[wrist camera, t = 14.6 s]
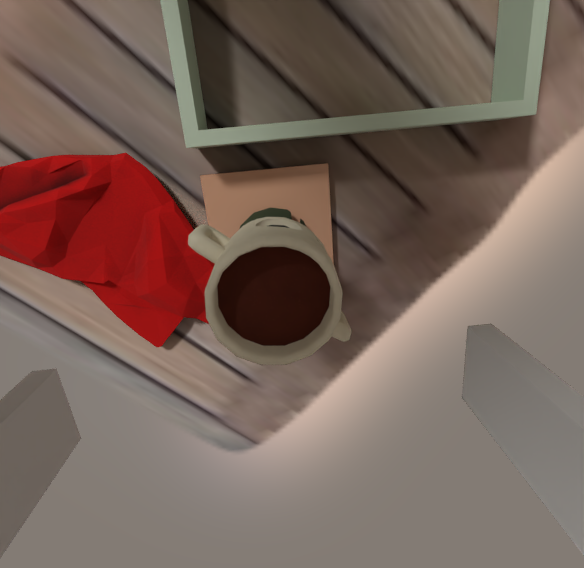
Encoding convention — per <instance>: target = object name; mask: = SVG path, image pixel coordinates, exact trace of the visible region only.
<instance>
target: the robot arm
mask: <svg viewBox="0 0 584 568" xmlns="http://www.w3.org/2000/svg"><path fill="white" fill-rule="evenodd" d="M462 398H463V400H464V401H465V402H466V404H467V405H468V406H469V407H470V409H471V410H472V411H473V413H474V414H475V415H476V417H477V418H478V419H479V420H480V422H481V423H482V424H483V426H484V427H485V428H486V430H487V431H488V432H489V433H490V435H491V436H492V437H493V438H494V440H495V441H496V443H497V444H498V445H499V446H500V448H501V449H502V450H503V452H504V453H505V454H506V456H507V457H508V458H509V459H510V460H511V462H512V463H513V464H514V466H515V467H516V468H517V470H518V471H519V472H520V474H521V475H522V476H523V478H524V479H525V480H526V481H527V483H528V484H529V485H530V487H531V488H532V489H533V490H534V492H535V493H536V494H537V496H538V497H539V498H540V500H541V501H542V502H543V504H544V505H545V506H546V507H547V509H548V510H549V511H550V513H551V514H552V515H553V517H554V518H555V519H556V520H557V522H558V523H559V524H560V526H561V527H562V528H563V530H564V531H565V532H566V533H567V535H568V536H569V537H570V539H571V540H572V541H573V543H574V544H575V545H576V546H577V548H578V549H579V550H580V551H581V553H582V554H583V556H584V396H583V395H582V394H580V393H579V392H578V391H576V390H575V389H574V388H573V387H571V386H570V385H569V384H567V383H566V382H565V381H564V380H562V379H561V378H559V376H557V375H556V374H555V373H553V372H552V371H551V370H550V369H548V368H547V367H546V366H545V365H543V364H542V363H541V362H539V361H538V360H537V359H536V358H534V357H533V356H532V355H531V354H529V353H528V352H527V351H525V350H524V349H523V348H522V347H520V346H519V345H518V344H516V343H515V342H514V341H513V340H511V339H510V338H509V337H508V336H506V335H505V334H504V333H502V332H501V331H500V330H499V329H497V328H496V327H495V326H494V325H492V324H484V325H474V326H468V329H467V342H466V354H465V367H464V380H463V392H462ZM80 439H81V437H80V434H79V431H78V428H77V425H76V423H75V420H74V417H73V414H72V411H71V409H70V406H69V403H68V400H67V397H66V394H65V392H64V389H63V386H62V383H61V380H60V378H59V375H58V372H57V369H49V370H40V371H32V372H31V373H30V374H28V375H27V376H26V377H25V378H24V379H23V380H22V381H21V382H20V383H19V384H17V385H16V386H15V387H14V388H13V389H12V390H11V391H10V392H9V393H8V394H6V395H5V396H4V397H3V398H2V399H1V400H0V558H1V557H2V555H3V554H4V552H5V551H6V549H7V548H8V546H9V545H10V543H11V542H12V540H13V539H14V537H15V536H16V534H17V533H18V531H19V530H20V528H21V527H22V525H23V524H24V523H25V521H26V519H27V518H28V516H29V515H30V514H31V512H32V511H33V509H34V508H35V506H36V505H37V503H38V502H39V500H40V499H41V497H42V496H43V494H44V493H45V491H46V490H47V488H48V487H49V485H50V484H51V482H52V481H53V479H54V478H55V476H56V475H57V473H58V472H59V470H60V469H61V467H62V466H63V465H64V463H65V462H66V460H67V459H68V457H69V456H70V454H71V452H72V451H73V450H74V448H75V446H76V445H77V444H78V442H79V441H80Z"/></svg>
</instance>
